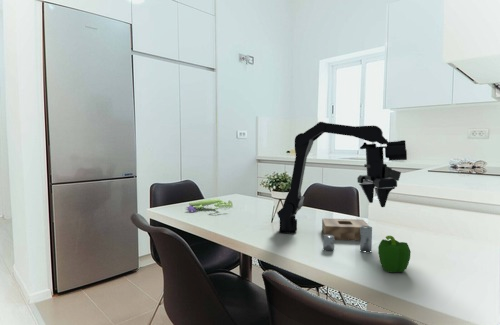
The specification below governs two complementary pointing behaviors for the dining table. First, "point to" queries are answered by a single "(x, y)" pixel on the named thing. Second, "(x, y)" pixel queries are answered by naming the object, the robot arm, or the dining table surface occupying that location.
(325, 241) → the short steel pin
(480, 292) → the dining table surface
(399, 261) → the bell pepper
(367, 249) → the tall steel pin
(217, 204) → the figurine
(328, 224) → the walnut hole block
